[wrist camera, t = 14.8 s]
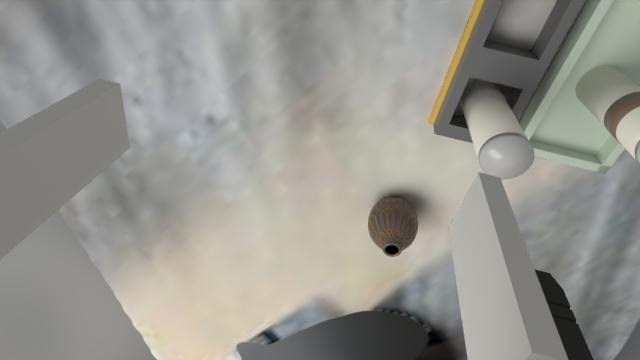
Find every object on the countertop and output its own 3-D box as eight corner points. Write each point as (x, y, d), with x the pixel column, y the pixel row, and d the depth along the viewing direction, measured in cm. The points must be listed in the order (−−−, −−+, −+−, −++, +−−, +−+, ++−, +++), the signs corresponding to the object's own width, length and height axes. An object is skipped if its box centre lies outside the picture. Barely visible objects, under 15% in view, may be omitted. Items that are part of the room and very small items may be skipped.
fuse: (469, 74, 43) (493, 131, 32) (507, 83, 42) (544, 143, 31) (454, 109, 45) (471, 172, 34) (489, 117, 45) (519, 184, 34)
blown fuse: (590, 60, 39) (665, 118, 28) (633, 70, 39) (725, 132, 28) (566, 99, 42) (625, 166, 31) (606, 108, 42) (680, 179, 31)
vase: (419, 223, 56) (421, 268, 49) (373, 226, 58) (369, 269, 51) (414, 187, 53) (416, 229, 46) (366, 191, 55) (361, 232, 48)
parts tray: (597, -19, 36) (609, -15, 34) (713, 7, 35) (733, 13, 33) (507, 140, 46) (512, 151, 44) (595, 162, 46) (605, 173, 44)
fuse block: (493, -43, 36) (500, -40, 34) (581, -23, 36) (594, -18, 33) (428, 121, 47) (429, 132, 44) (495, 137, 46) (501, 149, 44)
